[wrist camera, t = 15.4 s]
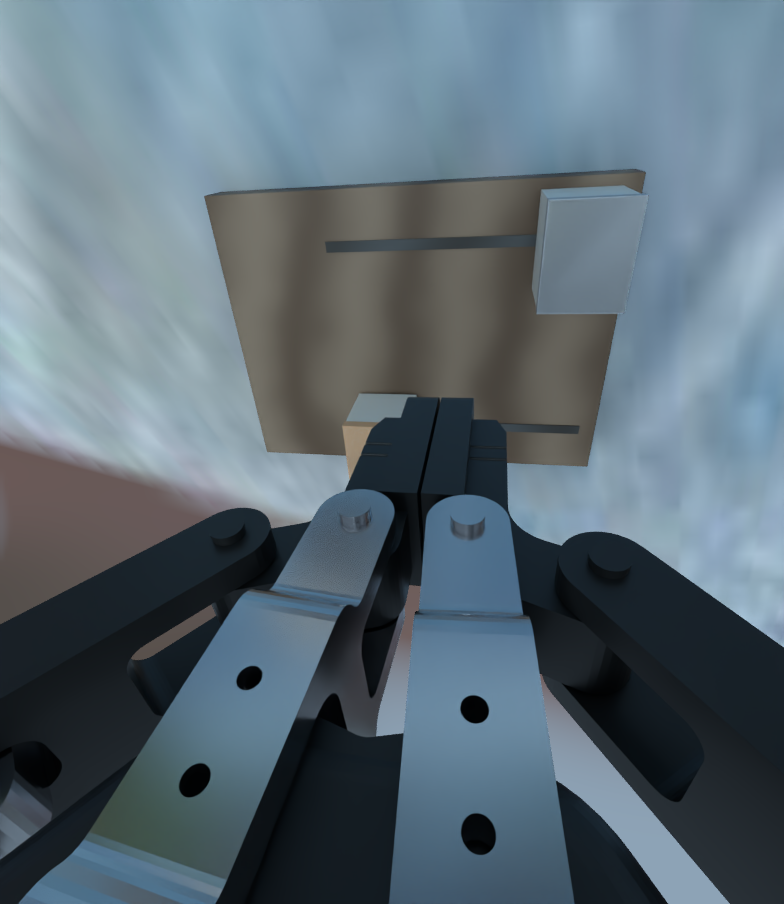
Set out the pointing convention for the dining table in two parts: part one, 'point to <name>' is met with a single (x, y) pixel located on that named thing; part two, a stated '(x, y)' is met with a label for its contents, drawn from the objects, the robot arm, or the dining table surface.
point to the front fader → (586, 249)
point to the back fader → (368, 421)
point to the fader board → (409, 308)
